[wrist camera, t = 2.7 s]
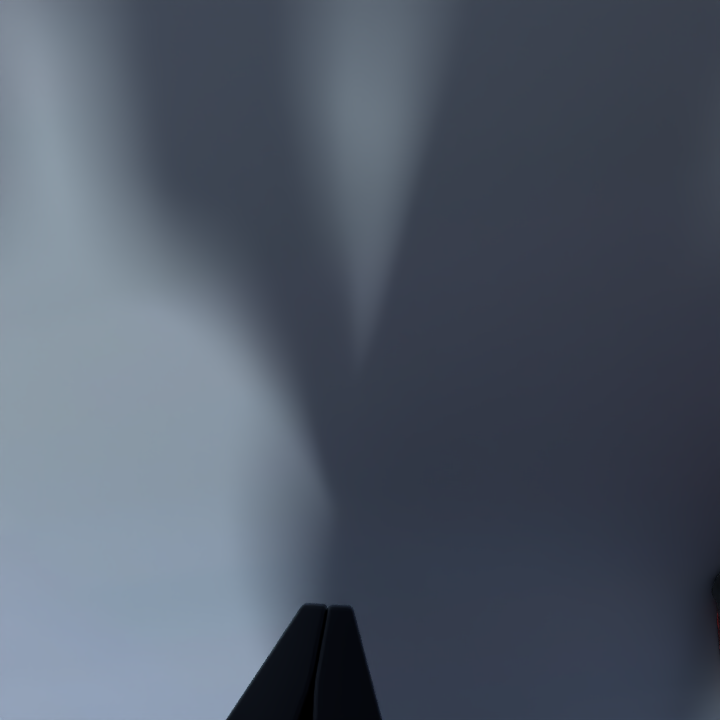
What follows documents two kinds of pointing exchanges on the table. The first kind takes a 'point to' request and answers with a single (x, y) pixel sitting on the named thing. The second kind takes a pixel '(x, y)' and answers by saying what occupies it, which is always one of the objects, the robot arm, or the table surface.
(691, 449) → the table surface
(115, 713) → the table surface
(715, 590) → the handheld game console
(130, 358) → the table surface
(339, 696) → the robot arm
